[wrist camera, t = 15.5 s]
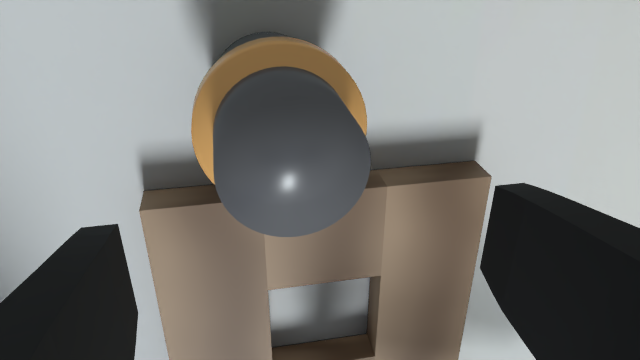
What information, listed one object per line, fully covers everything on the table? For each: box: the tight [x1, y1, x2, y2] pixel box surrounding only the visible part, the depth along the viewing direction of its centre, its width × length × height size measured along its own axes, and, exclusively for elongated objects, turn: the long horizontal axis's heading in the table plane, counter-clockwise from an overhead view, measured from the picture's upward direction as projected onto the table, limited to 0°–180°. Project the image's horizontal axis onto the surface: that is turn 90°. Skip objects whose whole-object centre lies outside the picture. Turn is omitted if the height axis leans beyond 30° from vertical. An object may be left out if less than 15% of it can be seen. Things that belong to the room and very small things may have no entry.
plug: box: [191, 32, 371, 237], centre depth 16 cm, size 5×5×7 cm
